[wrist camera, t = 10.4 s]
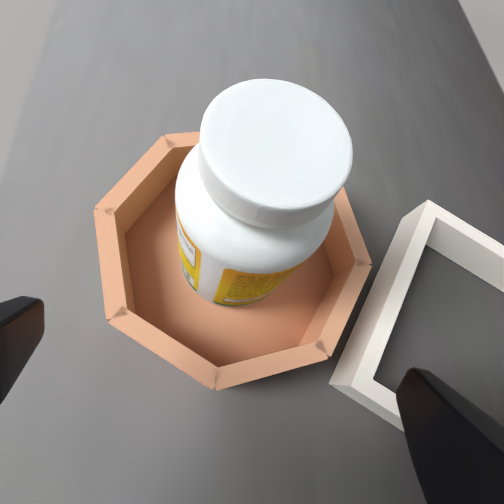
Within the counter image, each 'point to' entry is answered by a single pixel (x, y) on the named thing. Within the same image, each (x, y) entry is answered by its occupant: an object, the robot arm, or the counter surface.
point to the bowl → (208, 314)
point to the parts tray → (393, 293)
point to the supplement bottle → (258, 189)
